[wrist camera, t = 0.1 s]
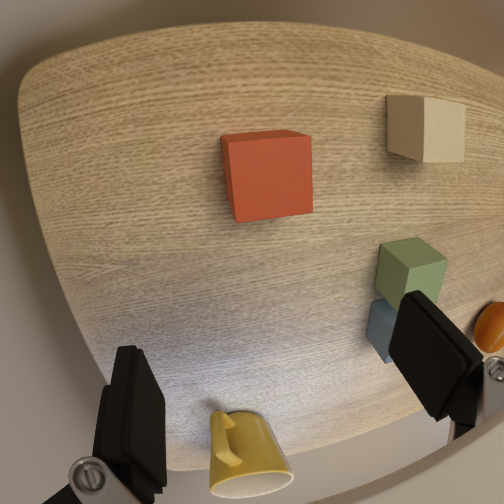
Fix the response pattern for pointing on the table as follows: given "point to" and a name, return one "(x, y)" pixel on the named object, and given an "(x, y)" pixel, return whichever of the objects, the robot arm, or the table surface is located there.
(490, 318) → the fruit
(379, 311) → the blue cube
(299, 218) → the table surface
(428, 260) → the green cube
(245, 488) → the mug
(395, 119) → the beige cube
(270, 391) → the table surface
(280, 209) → the red block
